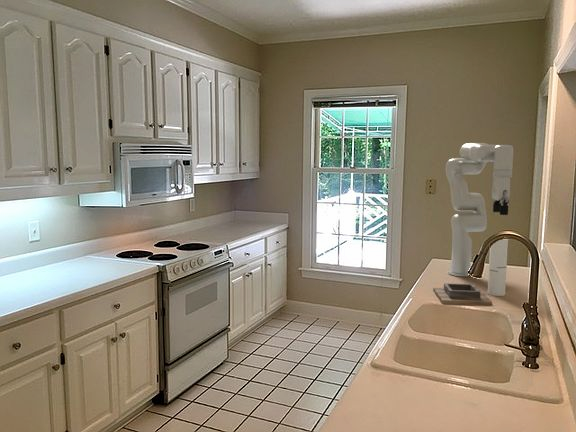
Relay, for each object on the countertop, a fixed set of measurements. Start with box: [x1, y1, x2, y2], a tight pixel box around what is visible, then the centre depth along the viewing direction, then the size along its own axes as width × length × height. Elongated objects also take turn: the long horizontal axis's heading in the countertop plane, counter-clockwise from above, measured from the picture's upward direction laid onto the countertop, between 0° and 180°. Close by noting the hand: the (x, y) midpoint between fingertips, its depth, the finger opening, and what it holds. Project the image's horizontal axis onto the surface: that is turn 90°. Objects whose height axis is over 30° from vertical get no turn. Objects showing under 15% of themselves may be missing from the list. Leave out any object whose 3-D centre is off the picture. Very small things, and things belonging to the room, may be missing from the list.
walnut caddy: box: [432, 283, 493, 306], centre depth 214 cm, size 20×20×4 cm
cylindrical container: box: [487, 238, 509, 297], centre depth 219 cm, size 7×7×25 cm
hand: (500, 213), depth 216 cm, fingers open, 9 cm apart
